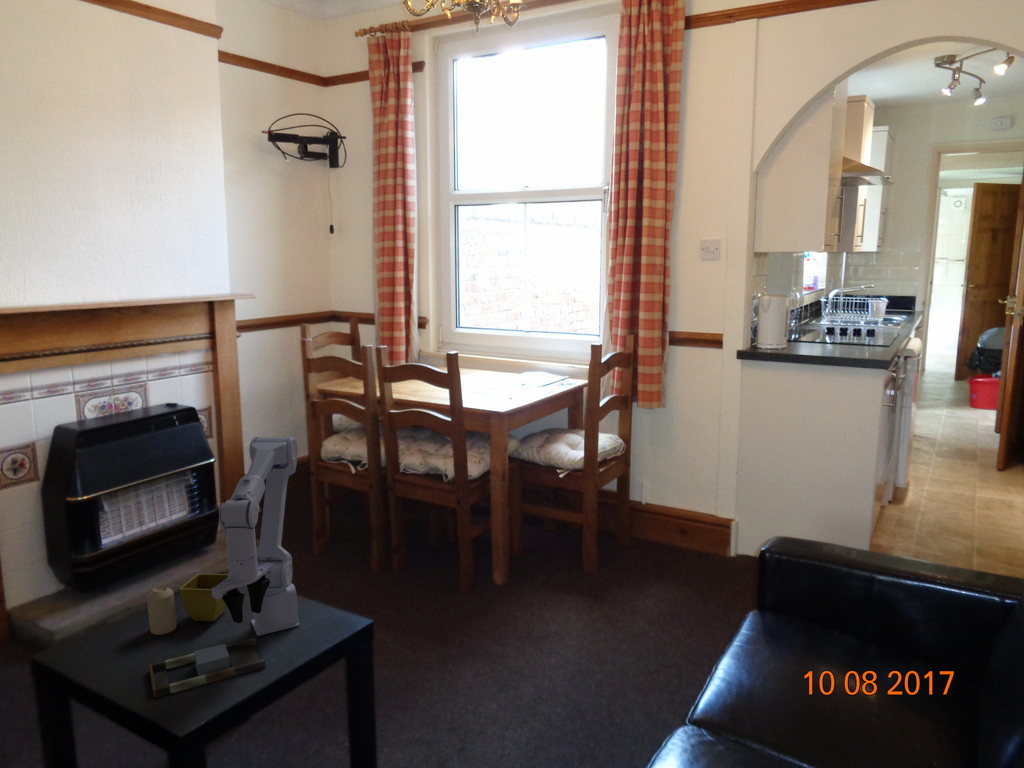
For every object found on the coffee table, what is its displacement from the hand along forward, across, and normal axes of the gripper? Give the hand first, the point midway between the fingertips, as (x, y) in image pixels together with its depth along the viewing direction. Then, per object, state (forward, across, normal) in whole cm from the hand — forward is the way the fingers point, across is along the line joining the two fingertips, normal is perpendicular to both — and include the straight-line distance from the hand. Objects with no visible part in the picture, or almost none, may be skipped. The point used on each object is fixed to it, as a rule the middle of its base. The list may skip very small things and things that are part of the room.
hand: (247, 616), depth 156 cm
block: (+10, +6, -4) cm, 12 cm away
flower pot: (+10, -8, -24) cm, 27 cm away
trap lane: (+9, +7, -4) cm, 13 cm away
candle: (+10, +1, -28) cm, 30 cm away
